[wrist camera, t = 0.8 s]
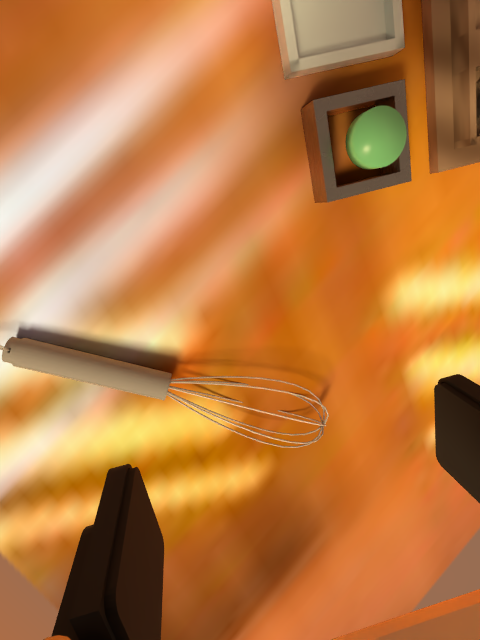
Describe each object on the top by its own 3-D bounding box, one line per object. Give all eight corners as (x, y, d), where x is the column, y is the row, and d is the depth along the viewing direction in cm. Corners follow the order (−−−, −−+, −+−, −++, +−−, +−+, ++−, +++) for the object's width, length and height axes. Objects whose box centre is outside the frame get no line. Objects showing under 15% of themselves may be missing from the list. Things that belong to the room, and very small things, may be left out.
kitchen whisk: (-7, 308, 33) (-47, 330, 27) (322, 382, 41) (347, 412, 35) (-16, 368, 34) (-56, 403, 28) (303, 428, 42) (325, 464, 36)
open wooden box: (300, 109, 32) (312, 100, 29) (384, 90, 32) (404, 79, 30) (315, 202, 34) (327, 202, 32) (392, 182, 35) (411, 180, 32)
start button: (329, 123, 31) (351, 112, 27) (376, 112, 31) (404, 99, 28) (336, 177, 32) (357, 173, 29) (381, 166, 33) (408, 160, 29)
